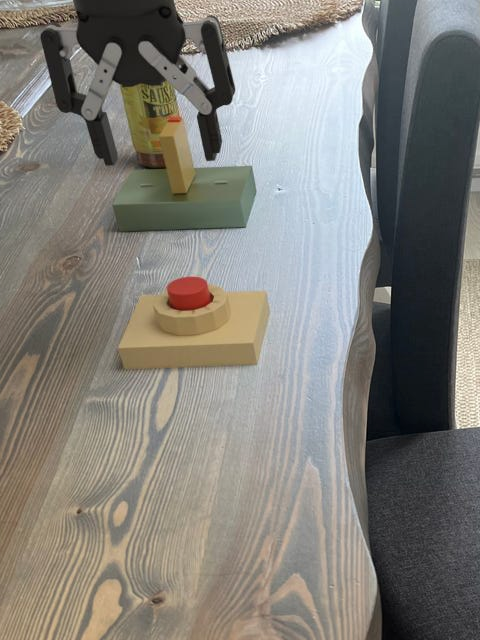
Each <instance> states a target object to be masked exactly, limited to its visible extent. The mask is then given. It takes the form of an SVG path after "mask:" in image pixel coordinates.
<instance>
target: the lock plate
mask: <svg viewBox="0 0 480 640" xmlns="http://www.w3.org/2000/svg"><path fill="white" fill-rule="evenodd" d="M194 169H195V176H194V178H193V180H192V183H191V185H190V187H189V189H188V191H187V193H177V194H172V190H171V186H170V182H169V178H168V173H167V169H166V168H150V169H149V168H148V169H131V170H130V172H129V174H128V176H127V177H126V179H125V181H124V183H123V184H122V186H121V187H120V190H119V192H118V193H117V195H116V196H115V199H114V201H113V203H112V206H111V207H112V209H113V213H114V216H115V220H116V224H117V227H118V231H119V232H121V233H122V232H147V231H176V230H178V231H179V230H205V229H232V228H246V226H247V224H248V221H249V218H250V214H251V211H252V207H253V204H254V201H255V198H256V195H257V186H256V180H255V174H254V168H253V166H252V165H233V166H230V165H229V166H207V167H194Z"/></svg>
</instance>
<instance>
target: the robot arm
mask: <svg viewBox="0 0 480 640" xmlns="http://www.w3.org/2000/svg"><path fill="white" fill-rule="evenodd" d="M72 3H73V6H74V10H75V13H76V16H77V26H76V27H74V26H73V27H71V26H69V27H68V26H62V25H60V24H59V23H58V22H55V21H52V22H50V23H48V24H47V26H46V27H45V28H44V30H43V31H41V33H40V37H39V38H40V42H41V47H42V51H43V55H44V59H45V63H46V67H47V71H48V76H49V80H50V83H51V87H52V91H53V96H54V100H55V104H56V107H57V109H58V110H59V112H62V113H63V114H69V113H72V114H75V115H77V116H80V117H81V118H82V119H83V120H84V122H85V124H86V128H87V131H88V134H89V138H90V141H91V145H92V148H93V152H94V154H95V156H96V157H97V159H98V160H103V164H104V165H105V166H106V167H113V166H115V165H116V164H117V162H118V160H119V155H118V151H117V150H118V149H117V147H116V146H117V145H116V143H115V139H114V135H113V131H112V127H111V124H110V120H109V117H108V113H107V111H103V106H104V103H105V101H106V99H107V96H108V94H109V91H110V89H111V87H112V85H113V83H114V82H115V84H117V85H119V84H121V85H122V87H133V86H136V85H138V84H145V85H150V86H159V85H161V84H162V83H163V82H165V81H168V82H169V83H170V84H171V85H172V86H173V87H174V89H175V91H176V92H177V93H178V94H179V95H182V96H184V97H185V98H186V100H188V102H189V103H191V104H192V105H193V107H194V108H195V109H196V110H197V111H198V112H197V114H196V120H197V124H198V125H197V126H198V130H199V134H200V140H201V145H202V148H203V154H204V159H205V161H206V162H216V159H217V155H218V154H220V152H221V150H222V145H223V138H222V132H221V128H220V122H219V118H218V113H217V110H218V109H219V108H221V107H224V106H230V105H231V104H232V102H233V99H234V95H235V93H236V85H235V80H234V77H233V72H232V68H231V64H230V60H229V56H228V52H227V47H226V43H225V39H224V34H223V31H222V26H221V23H220V19H219V18H218V17H217V16H215V15H212V14H210V15H207V16H206V17H205V19H202V20H193V21H185V22H184V20H183V19H182V18H181V16H180V15H179V13H178V10H177V7H176V3H175V0H72ZM187 39H189V40H191V41H192V42H193V43H194V44H195V45H194V46H195V47H196V49H197V50H198V51H199V52H200V53H203V54H204V53H205V54H206V58H207V63H208V67H209V70H210V74H211V78H212V83H213V86H214V87H213V86H212V87H211V88H209V86H207V84H206V83H205V82H204V80H202V79H201V78H200V76H199V75H198V73H197V71H196V69H194V67H192V65H191V64H190V63H189V62H188V61H187V60H186V59H185V58H184V57H183V56H182V55H181V53H182V50H183V48H184V46H185V43H186V41H187ZM76 45H79V46H80V48H81V49H82V51H84V52H85V53H86V55H88V56H89V58H91V59H92V61H93V62H94V63H95V64H96V65H97V68H96V71H95V73H94V74H93V78H92V80H91V83H90V86H89V88H88V92H87V94H84V93H82V92H78V89H77V84H76V80H75V76H74V71H73V66H72V62H71V59H72V57H73V56H74V54H75V52H76V47H75V46H76Z"/></svg>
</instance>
